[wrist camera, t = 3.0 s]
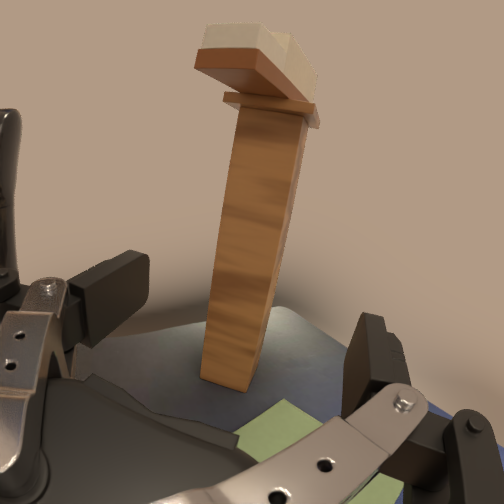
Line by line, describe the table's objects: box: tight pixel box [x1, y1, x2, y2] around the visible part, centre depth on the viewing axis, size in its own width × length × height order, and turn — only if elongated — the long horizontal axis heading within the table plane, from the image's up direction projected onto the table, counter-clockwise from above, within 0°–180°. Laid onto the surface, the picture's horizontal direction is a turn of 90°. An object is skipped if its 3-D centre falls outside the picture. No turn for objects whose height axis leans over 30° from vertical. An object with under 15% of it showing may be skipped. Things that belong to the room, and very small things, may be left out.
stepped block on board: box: [194, 23, 317, 103], centre depth 25 cm, size 20×4×6 cm, turn 158°
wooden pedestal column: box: [200, 91, 320, 393], centre depth 34 cm, size 10×8×32 cm
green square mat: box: [233, 399, 404, 504], centre depth 22 cm, size 18×18×1 cm
